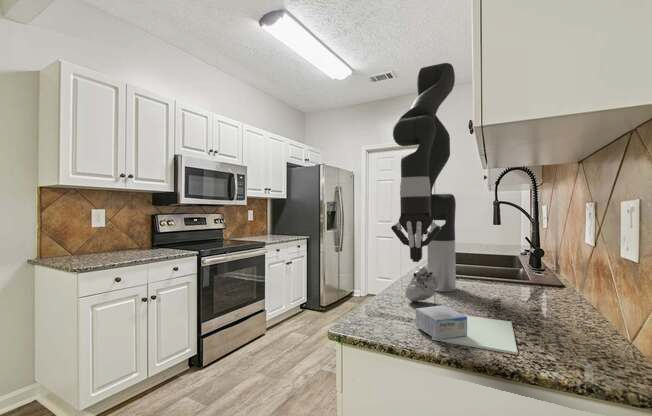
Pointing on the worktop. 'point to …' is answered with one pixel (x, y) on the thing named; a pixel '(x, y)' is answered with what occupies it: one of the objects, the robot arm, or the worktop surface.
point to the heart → (422, 285)
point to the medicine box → (441, 322)
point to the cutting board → (487, 335)
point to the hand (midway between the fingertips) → (416, 261)
